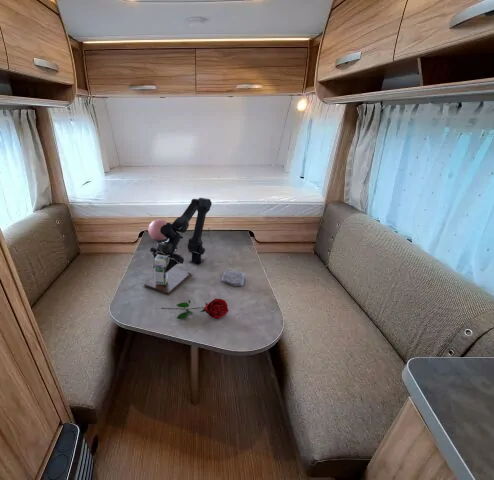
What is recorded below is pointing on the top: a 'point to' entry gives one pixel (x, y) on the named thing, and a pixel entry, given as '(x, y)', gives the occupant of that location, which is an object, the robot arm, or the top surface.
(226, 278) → the stone block
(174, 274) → the grey flat tile
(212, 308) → the flower
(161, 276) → the syrup box
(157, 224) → the balloon
